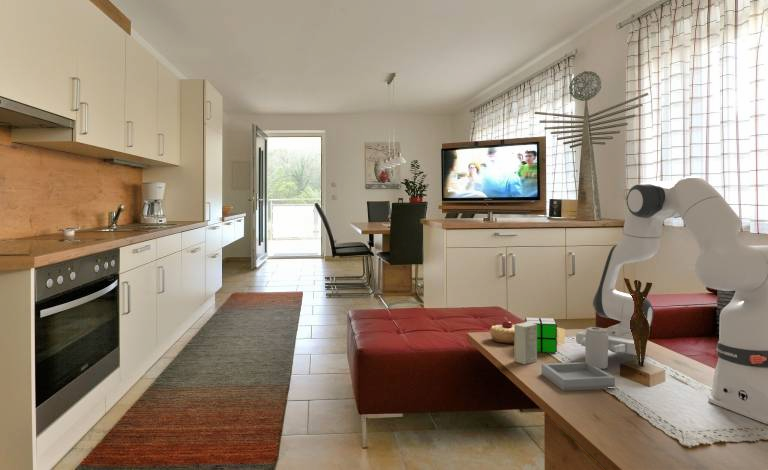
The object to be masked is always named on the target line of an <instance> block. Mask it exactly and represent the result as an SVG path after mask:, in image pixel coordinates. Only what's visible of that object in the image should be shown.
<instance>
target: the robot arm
mask: <svg viewBox="0 0 768 470" xmlns="http://www.w3.org/2000/svg"><path fill="white" fill-rule="evenodd" d="M626 205H627V212H626V215H625V219H624V224H623V230H622V231H623V232H622V237H621V239H620V240H619V242H618V244H615V245H612V247H611V249H610V251H609V252H608V254H607V257H606V261H605V265H604V267H603V272H602V276H601V278H600V281H599V285H598V288H597V290H596V293H595V295H594V297H593V299H592V301H593V302H592V307H593V309H594V311H595V313H596V314H597V315H598V316H599V317H602V318H607V319H613V320H616V321H619V323H617V324H615V325H611V326H608V327H606V328H605V329H606V330H607V331H606V332H607V333H608V351H610V352H612V353H614V354H629V355H634V356H637V355H636V351H635V345H634V340H633V336H632V332H631V329H630V320H631V317H632V315H633V313H634V301H633V298H632V296H631V295H632V294H631V295H630V293H627V292H622V291H620V290H617V289H616V284H617V283H616V282H617V281H618V280H617V279H618V277H619V273H620V270H621V267H622V266H623V265H625V264H631V263H638V262H642V261H647V260H650V259H651V258H653V257H654V256H655V255H656V254H657V253H658V251H659V249H660V246H661V239H662V233H663V223H664V222H665V220H666V219H671V218H674V219H677V218H678V219H679V218H681V220H682V221H683V223H684V224H685V225H686V227H687V228H688V230H689V231H690V233H691V234H692V236H693V237H694V238H695V239H694V240H696V242H697V244H698V248H699V255H698V256H697V259H696V261H695V275H696V277H697V280H698V281H699V282H700V283H701V284H702V286H705V287H706V288H709V289H713V290H716V291H717V290H718V291H723V292H734V294H733V297H732V298H731V300H730V302H729V303H728V304H727V305H725V306H724V307H723V308H722V309H721V311H720V314H719V331H718V332H719V333H718V334H719V336H718V337H719V339H718V341H717V344H716V356H717V357H718V359H717V363H716V366H715V368H714V374H713V380H712V387H711V388H712V389H711V392H710V395H709V396H708V402H709V403H710V404H714V405H716V406H719V407H721V408H723V409H727V410H729V411H732V412H735V413H737V414H740V415H742V416H745V417H747V418H749V419H752V420H755V421H757V422H760V423H763V424H765V425H768V245H766V244H765V245H763V244H762V245H748V244H746V243H744V242H742V240H741V238H740V237H739V233H740V231H741V229H742V220H741V218H740V216H738V214H737V213H736V212H735V211H734V209H733V208H732V207H731V206H730V203H728V202H727V200H726V199H725V198H724V197H723V196H722V194H720V192H718V190H716V189H715V187H714V186H712V185H711V184H710V183H709V182H708V181H706V180H705V179H704V178H702V177H699V176H695V175H691V176H686V177H683V178H681V179H679V180H677V181H674V180H673V181H668V180H662V181H661V180H659V181H652V182H651V181H650V182H648V181H647V182H641V183H638V184H635V185H633V186H632V187H631V188H629V190H628V192H627V195H626ZM644 298H645V300H644V303H643V312H644V315H645V316H646V318H647V320H648V323H649V329H650V328H651V327H652V324H653V321H654V314H655V313H654V312H655V310H654V307H653V305H652V304H651V301H650V300H649V299H648V298H646V297H644ZM586 331H587V330H583V331H578V332H576V334H575V341H576V343H577V344H578V345H580V346H581V347H582V346H583V347H585V340H586Z"/></svg>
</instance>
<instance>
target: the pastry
mask: <svg viewBox="0 0 768 470" xmlns="http://www.w3.org/2000/svg"><path fill="white" fill-rule="evenodd" d="M504 319H505V320H503V321H502V322H501V324H496V325H495V324H494V325H492V326H491V327H490V328H489V331H490V336H491V339H492V340H493V341H494V342H497V343H500V344H501V343H502V344H514V325H515V324H514V323H513V322H512V321H509V319H508V318H507V317H506V316H504Z"/></svg>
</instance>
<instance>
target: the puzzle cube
mask: <svg viewBox="0 0 768 470" xmlns="http://www.w3.org/2000/svg"><path fill="white" fill-rule="evenodd" d="M524 322H529V323H533V324H537V353H545V354H547V353H548V352H557V353H558V350H557V349H558V347H557V345H558V341H557V340H558V339H557V338H558V334H557V333H558V332H557V331H558V325H557V323H556V321H555V319H554V318H548V317H547V318H546V317H545V318H544V317H540V318H539V317H525V319H524ZM548 354H549V353H548Z"/></svg>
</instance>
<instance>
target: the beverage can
mask: <svg viewBox="0 0 768 470" xmlns="http://www.w3.org/2000/svg"><path fill="white" fill-rule="evenodd" d="M606 329H607V328H604V327H598V326H589V327H586V330H585V331H586V340H585V346H584V347H585V355H584V357H585V359H584V360H585V361H584V362H589V363H591V364H592V365H594V366H596V367H598V368H599V369H604V370H605V369H606V368H608V367H609V366H608V365H609V350H608V333H607V332H606V331H607V330H606Z"/></svg>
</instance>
